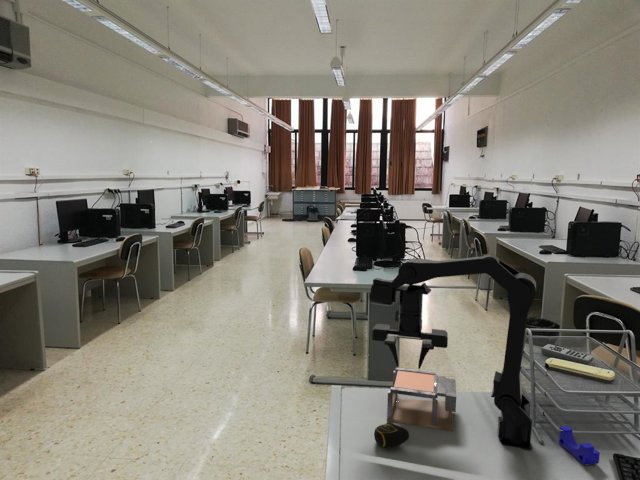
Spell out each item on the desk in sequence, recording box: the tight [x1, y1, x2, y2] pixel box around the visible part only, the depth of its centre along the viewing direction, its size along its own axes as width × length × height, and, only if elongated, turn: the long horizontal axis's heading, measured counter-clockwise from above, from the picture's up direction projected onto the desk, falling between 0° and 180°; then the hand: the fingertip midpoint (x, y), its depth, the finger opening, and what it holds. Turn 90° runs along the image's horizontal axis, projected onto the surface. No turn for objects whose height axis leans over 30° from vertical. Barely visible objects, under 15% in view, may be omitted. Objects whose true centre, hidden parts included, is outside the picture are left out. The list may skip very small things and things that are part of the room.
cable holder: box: [558, 425, 601, 466], centre depth 97 cm, size 8×4×4 cm, turn 8°
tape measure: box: [373, 421, 410, 449], centre depth 98 cm, size 7×7×4 cm
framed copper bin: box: [386, 366, 454, 432], centre depth 113 cm, size 16×14×8 cm
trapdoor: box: [394, 371, 457, 413], centre depth 112 cm, size 15×10×5 cm, turn 74°
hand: (408, 367), depth 111 cm, fingers open, 5 cm apart
